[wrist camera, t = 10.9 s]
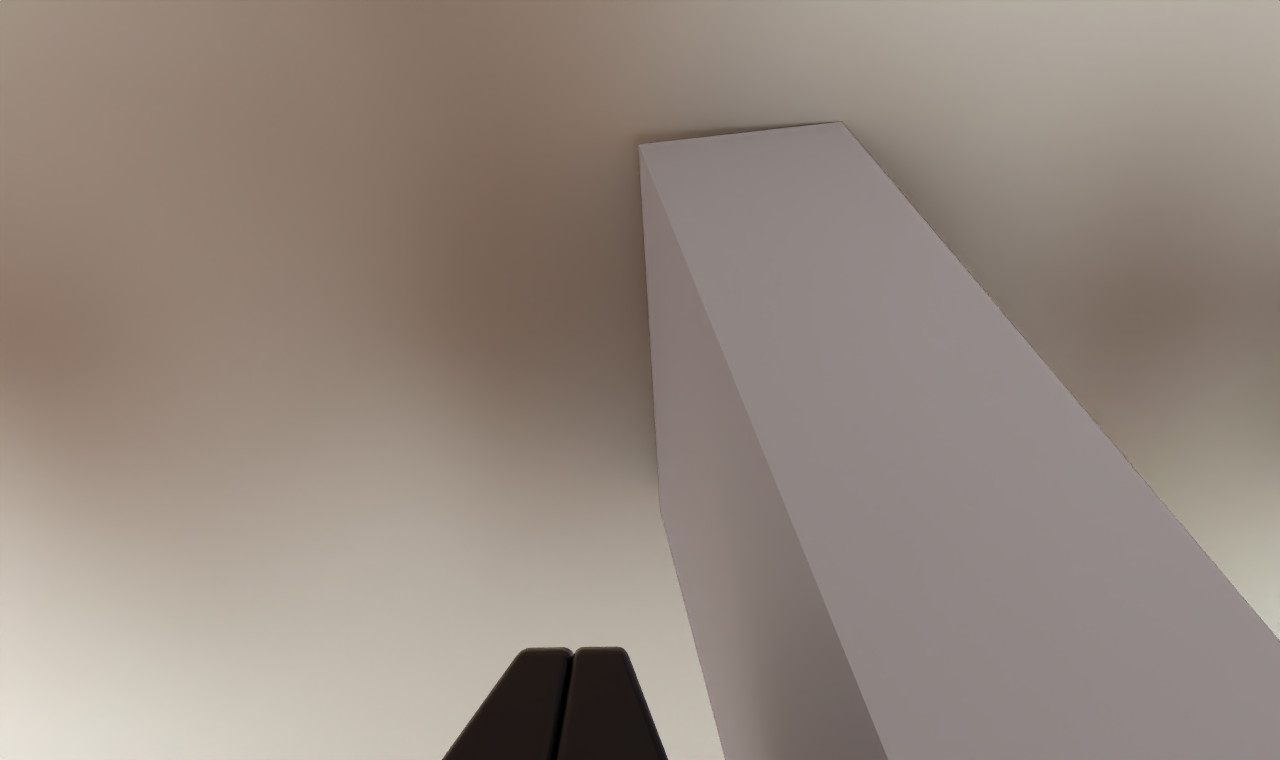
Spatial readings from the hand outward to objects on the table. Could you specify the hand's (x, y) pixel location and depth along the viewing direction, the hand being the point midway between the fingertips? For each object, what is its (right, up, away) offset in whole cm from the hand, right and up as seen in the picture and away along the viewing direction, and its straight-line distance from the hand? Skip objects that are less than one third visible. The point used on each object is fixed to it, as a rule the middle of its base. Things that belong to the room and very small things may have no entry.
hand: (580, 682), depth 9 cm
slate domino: (+2, +3, +4) cm, 6 cm away
